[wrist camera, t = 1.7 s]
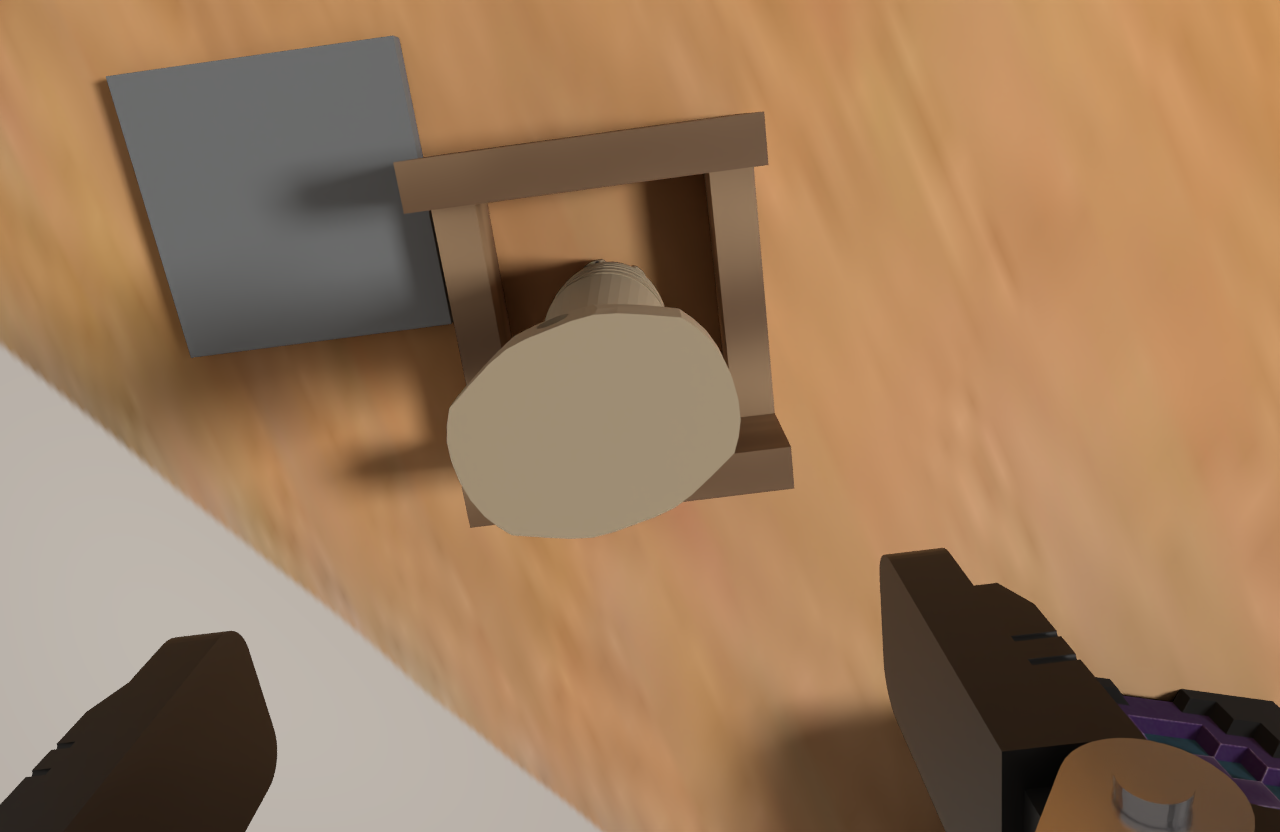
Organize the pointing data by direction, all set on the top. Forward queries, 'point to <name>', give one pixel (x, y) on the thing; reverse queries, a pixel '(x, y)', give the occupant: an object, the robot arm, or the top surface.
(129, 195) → the top surface
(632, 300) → the handle
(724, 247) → the frame
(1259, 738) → the energy cube
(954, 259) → the top surface
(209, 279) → the mat
